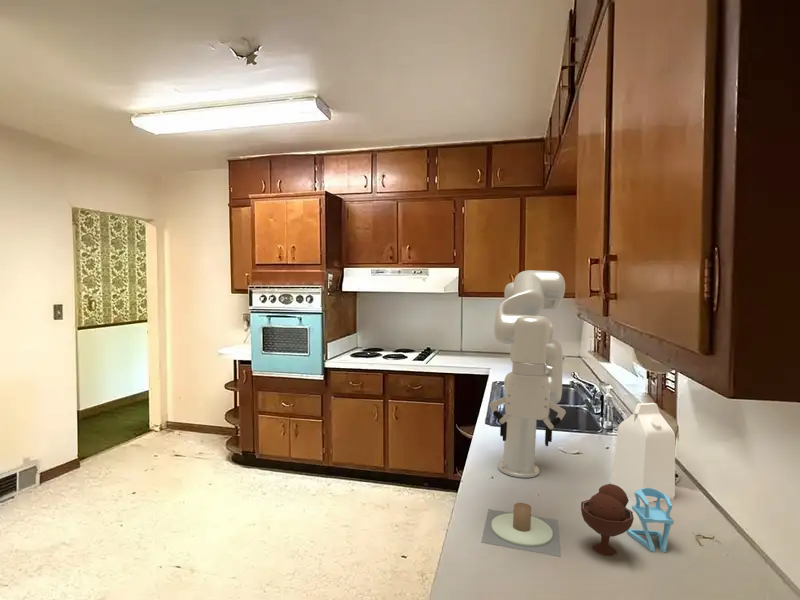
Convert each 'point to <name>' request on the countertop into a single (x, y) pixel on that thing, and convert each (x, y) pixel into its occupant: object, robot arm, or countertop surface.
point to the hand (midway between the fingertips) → (525, 442)
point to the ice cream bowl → (607, 516)
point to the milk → (645, 453)
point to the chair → (652, 518)
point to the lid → (522, 527)
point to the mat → (491, 538)
